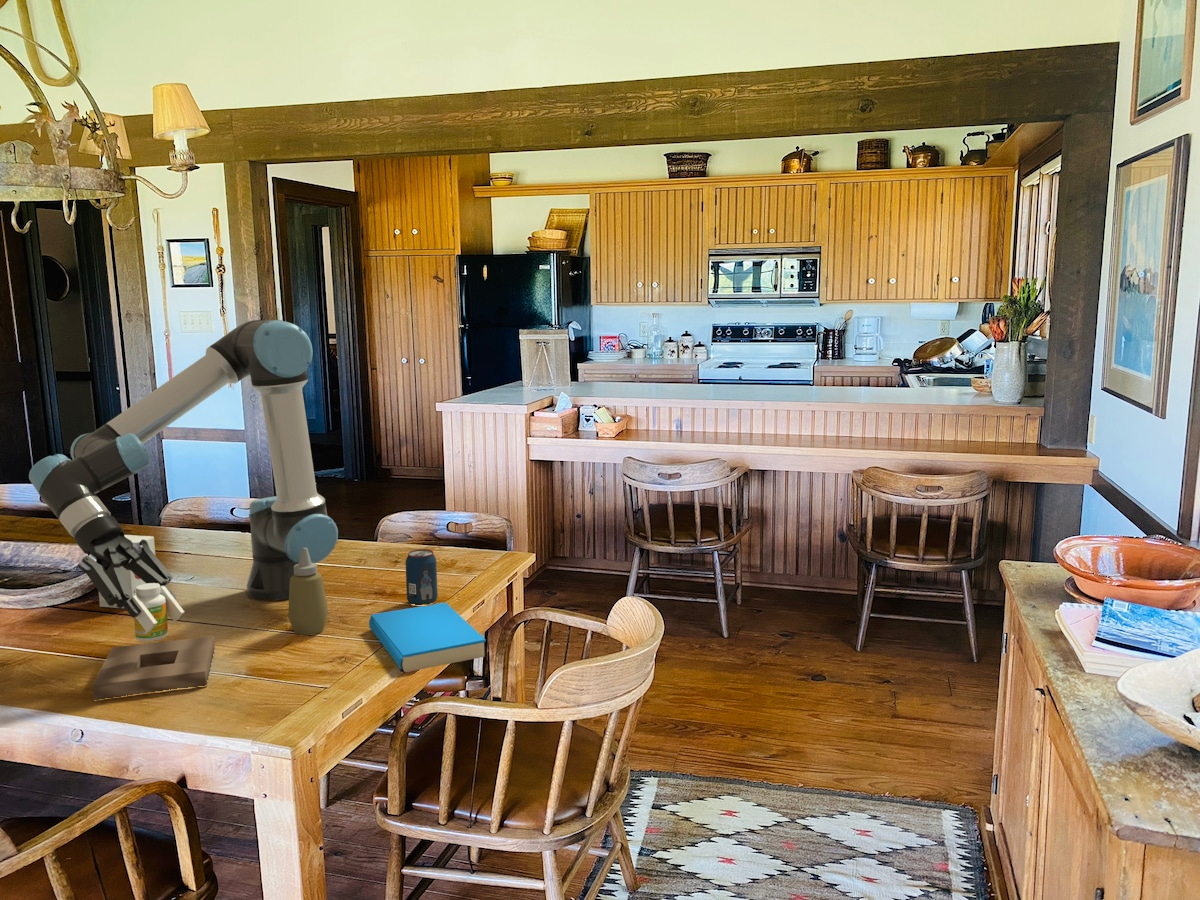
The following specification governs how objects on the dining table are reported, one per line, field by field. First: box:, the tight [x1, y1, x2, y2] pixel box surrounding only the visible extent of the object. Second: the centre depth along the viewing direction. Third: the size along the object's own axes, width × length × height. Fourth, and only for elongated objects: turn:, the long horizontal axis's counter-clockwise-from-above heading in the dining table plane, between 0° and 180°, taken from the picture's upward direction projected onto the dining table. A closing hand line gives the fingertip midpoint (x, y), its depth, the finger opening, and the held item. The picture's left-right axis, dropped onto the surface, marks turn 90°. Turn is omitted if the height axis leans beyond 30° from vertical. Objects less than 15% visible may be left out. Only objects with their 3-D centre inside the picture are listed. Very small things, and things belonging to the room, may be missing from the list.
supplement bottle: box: [133, 583, 169, 642], centre depth 163 cm, size 5×5×10 cm
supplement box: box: [98, 534, 156, 609], centre depth 204 cm, size 9×9×15 cm
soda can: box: [405, 548, 439, 605], centre depth 203 cm, size 7×7×12 cm
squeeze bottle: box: [287, 548, 329, 636], centre depth 186 cm, size 8×8×18 cm
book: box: [368, 602, 487, 673], centre depth 180 cm, size 17×4×25 cm
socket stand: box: [91, 635, 216, 701], centre depth 165 cm, size 18×18×3 cm
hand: (166, 621), depth 162 cm, fingers closed on supplement bottle, 5 cm apart
